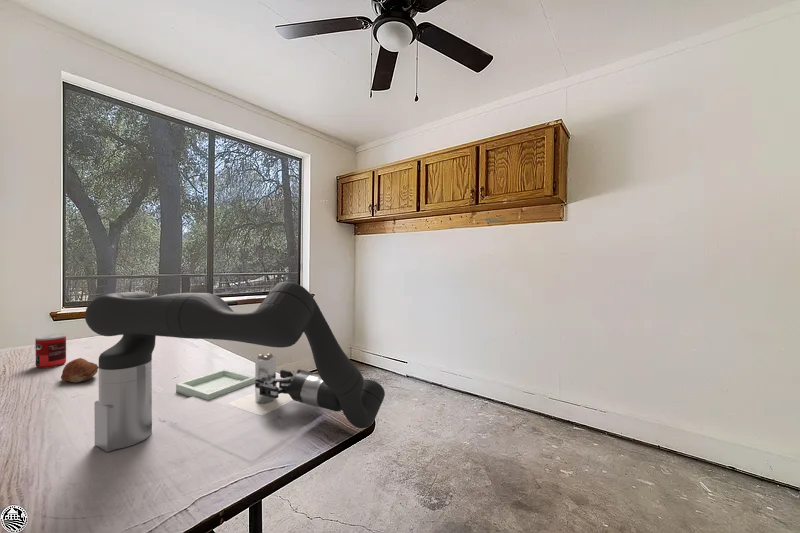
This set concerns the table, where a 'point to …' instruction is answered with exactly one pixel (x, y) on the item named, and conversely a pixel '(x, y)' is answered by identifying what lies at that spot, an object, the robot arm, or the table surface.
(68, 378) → the bread roll
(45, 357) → the canned food
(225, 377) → the tray
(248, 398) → the board
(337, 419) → the table surface
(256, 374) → the cup
